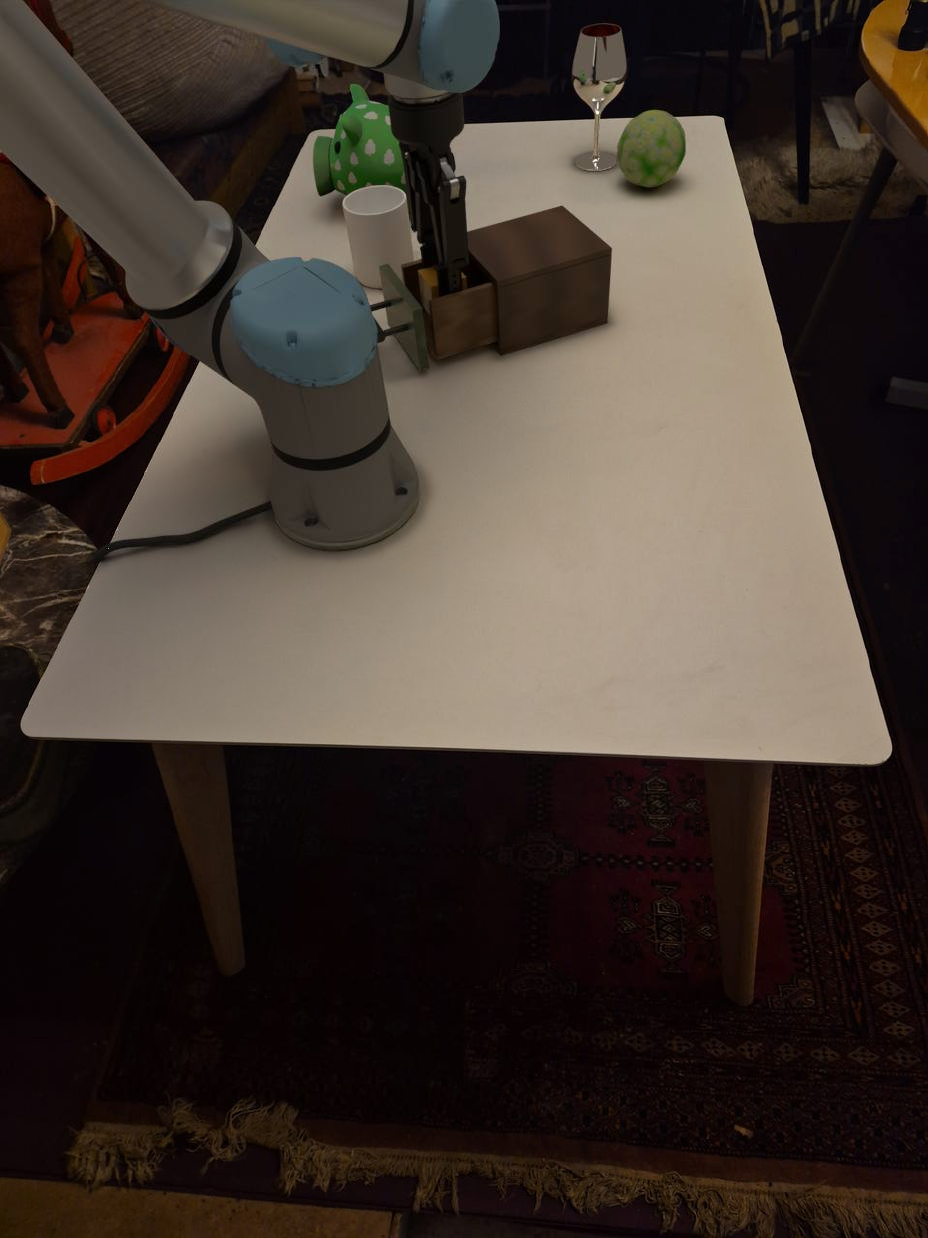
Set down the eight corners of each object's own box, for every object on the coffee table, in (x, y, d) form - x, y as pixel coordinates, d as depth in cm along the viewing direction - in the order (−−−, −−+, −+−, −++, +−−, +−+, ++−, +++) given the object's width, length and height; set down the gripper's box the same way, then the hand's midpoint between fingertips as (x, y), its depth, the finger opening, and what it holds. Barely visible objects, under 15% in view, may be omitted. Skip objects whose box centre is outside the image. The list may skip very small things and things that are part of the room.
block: (434, 321, 101) (431, 286, 98) (421, 304, 104) (417, 270, 101) (468, 311, 102) (466, 276, 99) (454, 295, 105) (451, 260, 101)
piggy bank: (334, 188, 137) (315, 83, 125) (447, 181, 135) (438, 74, 124) (321, 231, 128) (299, 122, 116) (442, 224, 126) (431, 113, 115)
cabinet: (500, 355, 103) (497, 281, 96) (460, 307, 111) (454, 234, 104) (607, 322, 106) (612, 247, 99) (561, 277, 114) (562, 204, 107)
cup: (348, 288, 116) (334, 213, 108) (371, 245, 124) (359, 172, 116) (407, 290, 115) (397, 214, 107) (427, 246, 122) (419, 172, 114)
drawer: (385, 381, 100) (375, 321, 94) (355, 334, 107) (344, 275, 101) (523, 339, 104) (522, 278, 98) (485, 296, 111) (482, 236, 105)
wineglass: (607, 177, 132) (614, 42, 118) (560, 168, 135) (561, 36, 121) (630, 156, 136) (639, 23, 122) (583, 148, 139) (587, 18, 126)
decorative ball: (684, 197, 126) (693, 124, 118) (616, 200, 127) (620, 127, 119) (679, 168, 132) (687, 96, 124) (613, 171, 133) (617, 100, 125)
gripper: (494, 110, 80) (503, 332, 98) (427, 57, 91) (446, 266, 109) (420, 128, 79) (443, 351, 97) (361, 72, 90) (391, 282, 107)
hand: (445, 306), depth 103 cm, fingers closed on block, 4 cm apart
